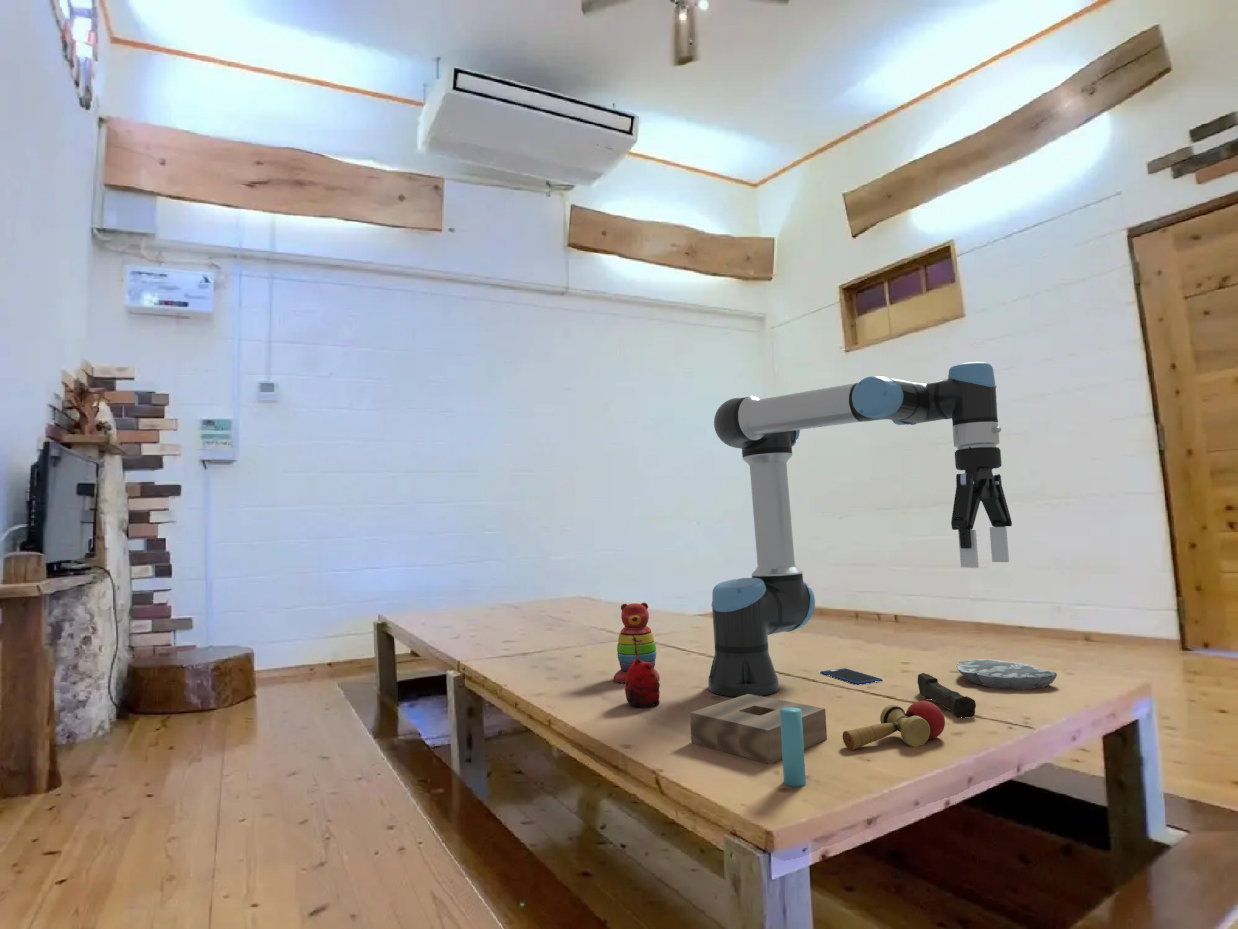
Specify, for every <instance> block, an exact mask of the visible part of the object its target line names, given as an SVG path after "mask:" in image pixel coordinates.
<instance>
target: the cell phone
mask: <svg viewBox="0 0 1238 929" xmlns="http://www.w3.org/2000/svg"><path fill="white" fill-rule="evenodd" d="M819 673H820V674H821V673H822V674H821V675H823V676H827V675H830V676H832V677H831V678H833V677H835V678H834V679H836V678H838V679H837V680H839V679H841V680H840V681H842V680H843V682H845V681H848V682H850V683H849V684H852V683H853V684H852V685H855V684H857V685H856V686H860V685H859V684H862V685H867V684H866V683H869V684H872V683H871V682H875V681H882V682H883V679H882V678H879V677H877V676H874V675H869V674H867V673H864V672H860V671H856V670H853V669H850V668H845V667H843V668H837V669H828V670H821V671H820V672H819ZM830 676H829V677H830ZM848 682H847V683H848Z"/></svg>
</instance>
